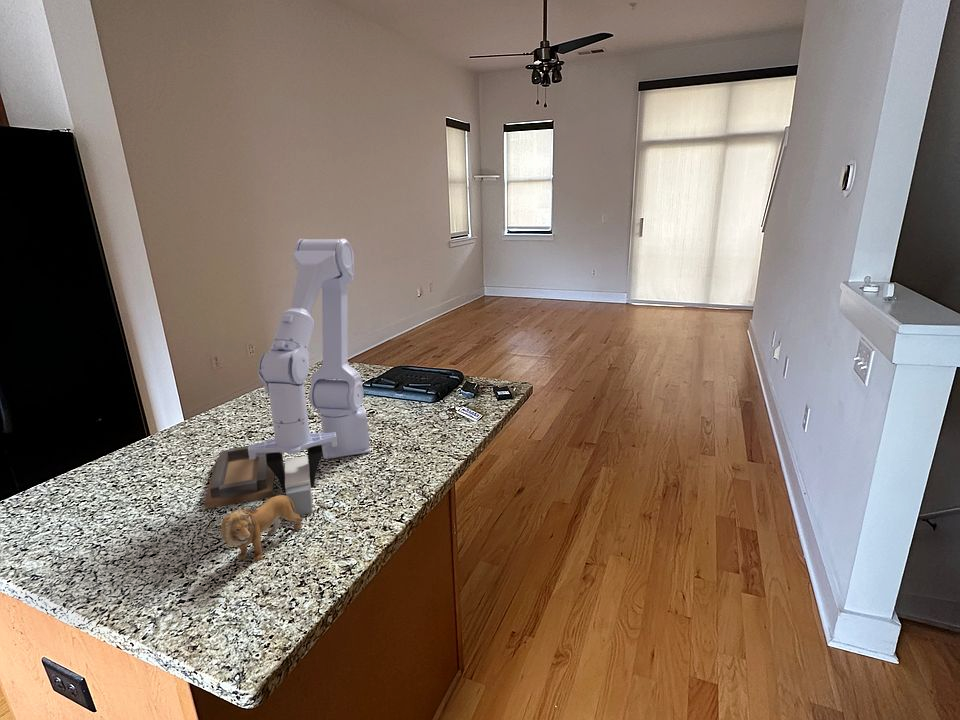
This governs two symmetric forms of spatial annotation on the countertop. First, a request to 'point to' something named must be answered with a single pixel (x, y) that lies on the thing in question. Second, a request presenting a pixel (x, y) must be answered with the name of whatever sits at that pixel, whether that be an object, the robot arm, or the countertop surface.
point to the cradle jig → (239, 479)
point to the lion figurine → (257, 524)
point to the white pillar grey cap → (298, 484)
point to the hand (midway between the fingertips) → (299, 487)
